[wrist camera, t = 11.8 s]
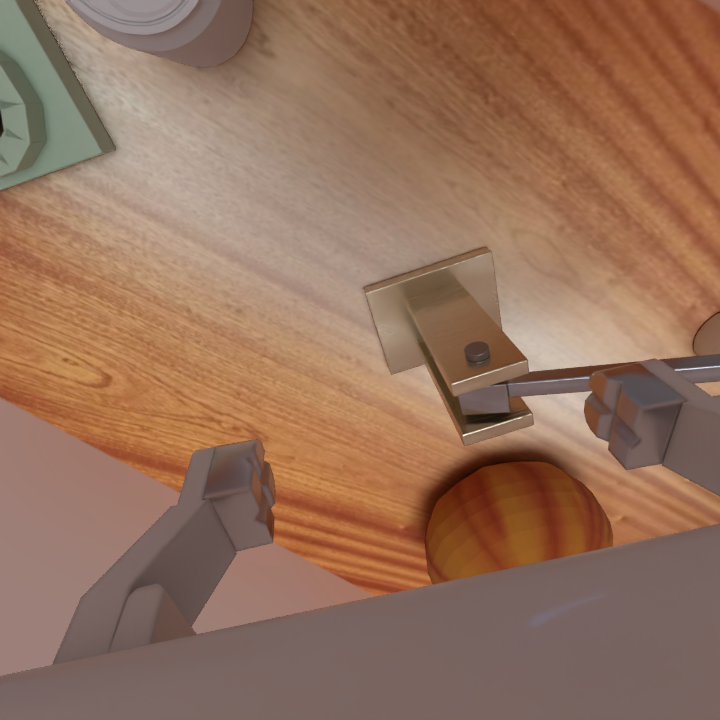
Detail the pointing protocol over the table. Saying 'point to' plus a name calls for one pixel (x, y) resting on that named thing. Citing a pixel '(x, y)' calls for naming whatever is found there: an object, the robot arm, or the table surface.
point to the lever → (572, 383)
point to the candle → (708, 337)
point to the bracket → (452, 337)
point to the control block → (40, 102)
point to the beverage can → (172, 26)
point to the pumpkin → (512, 521)
